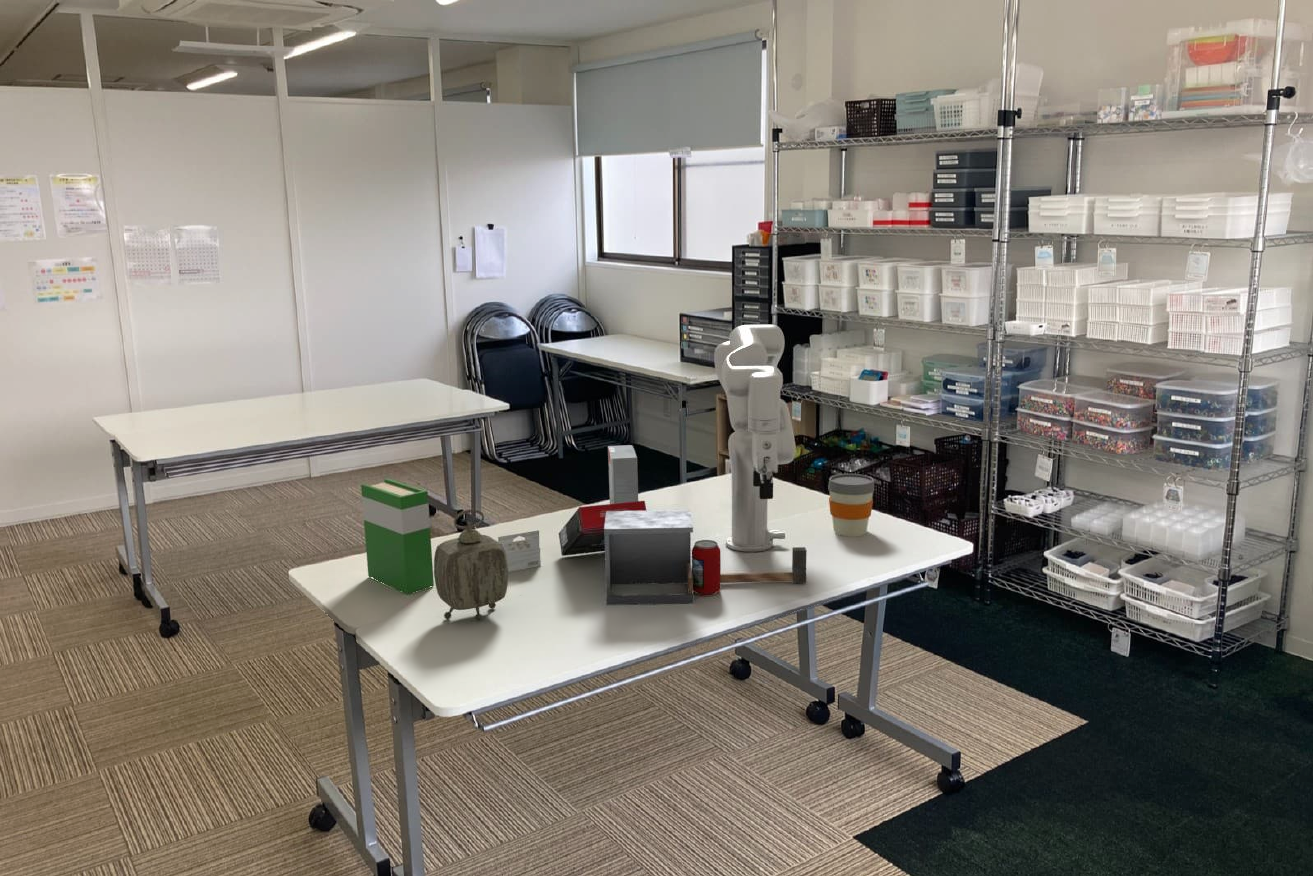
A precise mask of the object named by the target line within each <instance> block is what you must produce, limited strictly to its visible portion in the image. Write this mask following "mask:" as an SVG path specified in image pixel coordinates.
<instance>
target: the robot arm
mask: <svg viewBox="0 0 1313 876" xmlns="http://www.w3.org/2000/svg"><path fill="white" fill-rule="evenodd" d="M785 342H786V341H785V336H784V333H783V331H782V328H780V327H779V326H778V325H775V324H772V323H771V324H743V325H739V326H736V327H735V328H734V329H733V330H731V332H730V334H729V337H728V341H724V342H721V343H720V344H718V345H717V346H716V347H715V349H714V354H713V355H714V356H713V358H714V359H713V361H714V367H715V369H714V370H715V372H716V375H717V380H718V381H719V382H720V385H721V387H722V388H723V390H724V392H725V395H726V402H727V409H728V417H729V422H730V425H731V428H732V429H733V431H734V432H732V433H731V434H730V435H729V438H728V442H727V445H728V447H727V448H728V454H729V461H730V473H731V536H729V537H727V538H726V540H725V545H726V547H728V548H729V549H732V550H733V551H739V552H747V553H748V552H749V553H751V552H752V553H753V552H754V553H755V552H763V551H767V550H769V549H771V548H772V547H773V546H774V539H775V540H785V539H786V532H785V531H780V530H778V529H773V530H771V529H770V528H769V526H768V508H769V507H768V500H772V499H773V498H774V480H773V479H774V477H773V473H774V474H776V473H778V471H779V470H778V469H779V468H778V467H779V465H786V464H791V463H792V462H793V460H794V459H795V457H796V449H797V447H796V441H795V436H794V434H795V433H794V429H793V424H792V420H791V419H792V418H791V414H790V409H789V407H788V403H786V401H785V400H784V399H782V398H781V390H782V389H783V385H784V383H783V382H784V378H783V377H784V376H783V372H781V370H780V369H779V368H778V367H777V366H778V363H779V362H780V360H781V358H782V355H783V353H784V350H785ZM766 549H767V550H766Z"/></svg>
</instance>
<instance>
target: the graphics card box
mask: <svg viewBox="0 0 1313 876" xmlns="http://www.w3.org/2000/svg"><path fill="white" fill-rule="evenodd" d="M606 511H647V506H646V501H645V500H638V501H635V502H625V503H615V504H610V503H606V504H597V505H587V506H579V507H578V508H577V510H575V512H574V513H573V514H572V516H571V517H570V518H569V519H568V521H567V522H566V524H565V525H564V526H563V527H562V529H561V530H560V531H559V532H558V538H559V544H560V552H561V553H560V554H561V556H566V557H567V556H573V555H582V554H592V553H599V552H605V535H604V526H605V517H606Z"/></svg>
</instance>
